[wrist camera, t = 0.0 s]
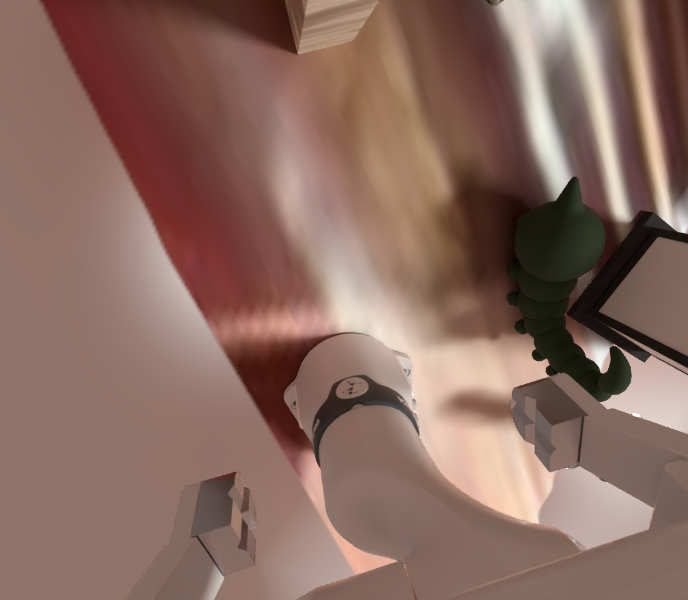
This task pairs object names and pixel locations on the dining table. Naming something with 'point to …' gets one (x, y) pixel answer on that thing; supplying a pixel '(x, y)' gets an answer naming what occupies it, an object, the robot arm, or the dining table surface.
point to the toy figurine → (561, 287)
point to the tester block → (326, 21)
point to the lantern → (642, 295)
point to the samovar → (495, 2)
